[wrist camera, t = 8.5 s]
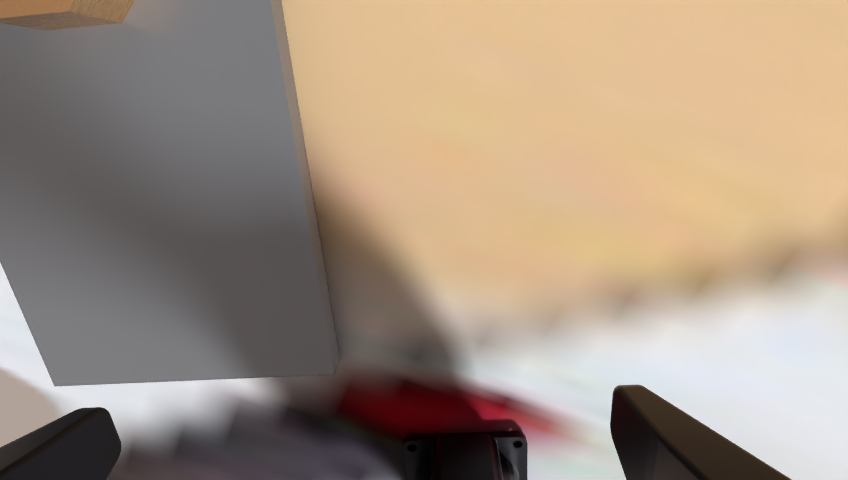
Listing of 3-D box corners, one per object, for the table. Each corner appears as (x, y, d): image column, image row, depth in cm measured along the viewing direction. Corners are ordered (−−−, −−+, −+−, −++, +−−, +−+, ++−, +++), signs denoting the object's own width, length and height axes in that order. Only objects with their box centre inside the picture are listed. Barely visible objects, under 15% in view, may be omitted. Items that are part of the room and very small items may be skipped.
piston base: (339, 359, 21) (310, 439, 16) (74, 371, 22) (-31, 451, 17) (234, -286, 13) (116, -505, 8) (-175, -234, 14) (-501, -407, 9)
